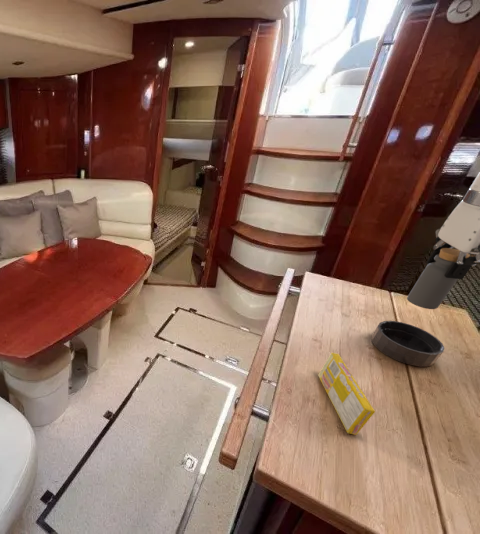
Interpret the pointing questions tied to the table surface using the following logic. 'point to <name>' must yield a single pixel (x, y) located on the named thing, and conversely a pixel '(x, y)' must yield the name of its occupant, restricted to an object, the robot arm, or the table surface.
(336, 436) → the table surface
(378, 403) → the table surface
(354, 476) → the table surface
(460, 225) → the robot arm
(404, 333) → the pan
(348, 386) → the candy box
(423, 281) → the bottle
